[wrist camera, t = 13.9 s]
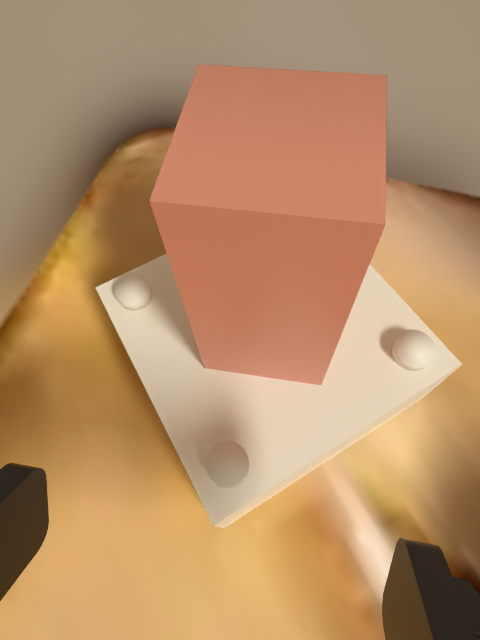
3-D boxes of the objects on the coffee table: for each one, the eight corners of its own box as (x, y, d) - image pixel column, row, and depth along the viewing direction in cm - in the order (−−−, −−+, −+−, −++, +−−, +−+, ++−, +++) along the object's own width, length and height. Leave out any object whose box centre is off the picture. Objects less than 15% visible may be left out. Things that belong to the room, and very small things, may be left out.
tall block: (226, 273, 20) (198, 64, 11) (329, 285, 19) (387, 75, 11) (204, 368, 18) (148, 200, 9) (321, 385, 17) (385, 224, 8)
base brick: (294, 246, 27) (301, 178, 22) (421, 399, 22) (469, 357, 17) (125, 332, 24) (89, 279, 19) (224, 528, 19) (210, 525, 14)
